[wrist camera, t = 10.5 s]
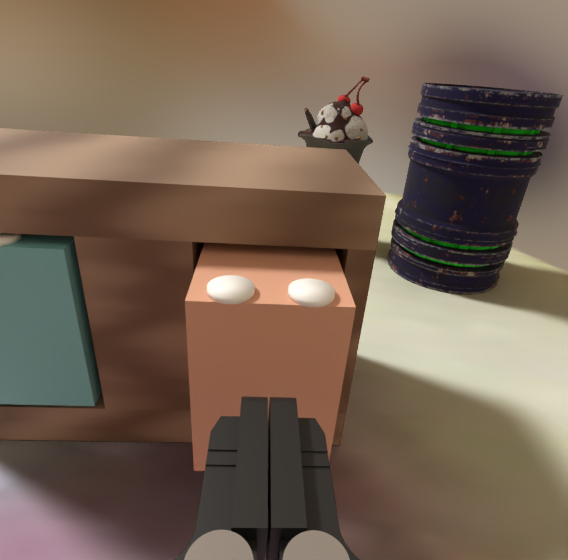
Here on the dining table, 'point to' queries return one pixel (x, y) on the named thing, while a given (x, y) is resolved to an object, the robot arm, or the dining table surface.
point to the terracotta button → (266, 333)
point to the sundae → (339, 127)
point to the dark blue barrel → (467, 183)
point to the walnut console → (170, 253)
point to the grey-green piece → (44, 324)
